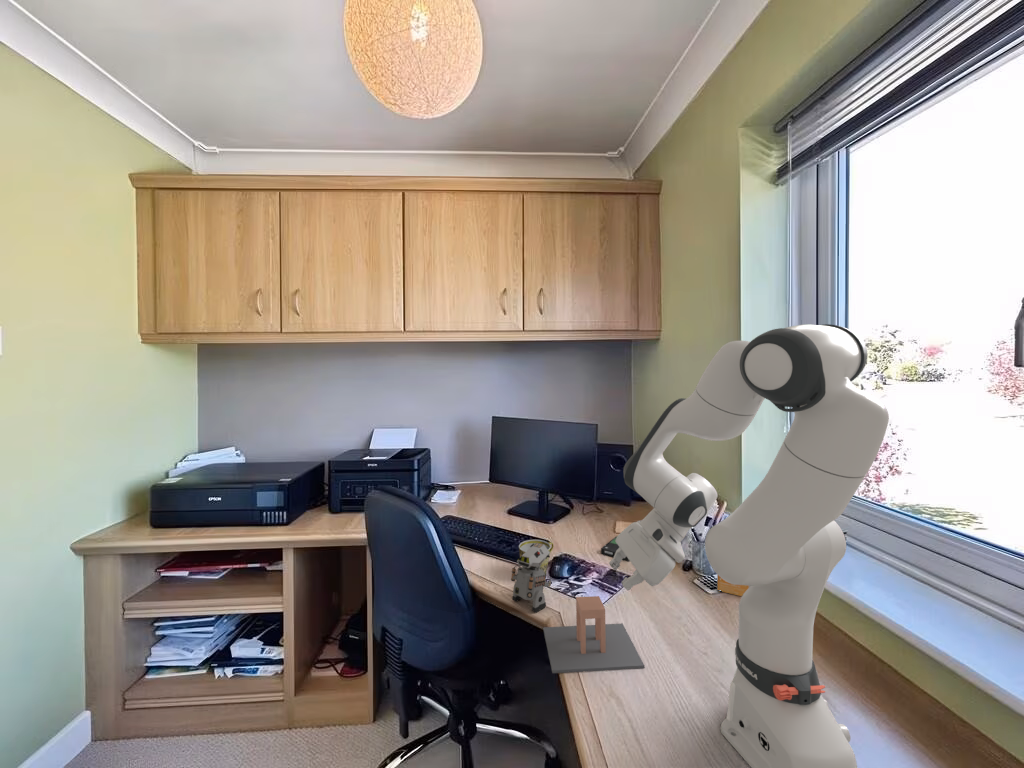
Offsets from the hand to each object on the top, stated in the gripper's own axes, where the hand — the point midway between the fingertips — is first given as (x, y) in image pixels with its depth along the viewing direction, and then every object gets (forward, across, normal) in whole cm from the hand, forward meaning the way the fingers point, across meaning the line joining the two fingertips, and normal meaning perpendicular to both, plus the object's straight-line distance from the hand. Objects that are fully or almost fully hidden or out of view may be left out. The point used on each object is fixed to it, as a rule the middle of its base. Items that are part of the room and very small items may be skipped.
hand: (617, 576), depth 98 cm
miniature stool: (+16, 0, +7) cm, 17 cm away
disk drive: (0, -50, +24) cm, 56 cm away
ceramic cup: (+22, -35, +1) cm, 41 cm away
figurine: (+24, -21, -1) cm, 32 cm away
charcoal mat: (+16, 0, +7) cm, 18 cm away
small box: (-17, -22, +40) cm, 49 cm away
